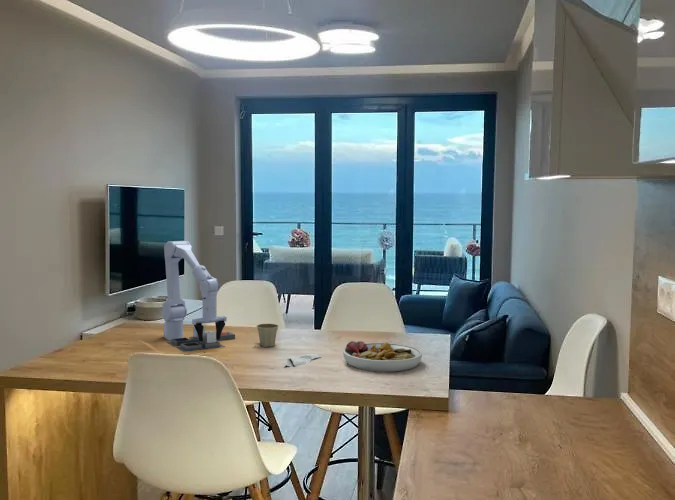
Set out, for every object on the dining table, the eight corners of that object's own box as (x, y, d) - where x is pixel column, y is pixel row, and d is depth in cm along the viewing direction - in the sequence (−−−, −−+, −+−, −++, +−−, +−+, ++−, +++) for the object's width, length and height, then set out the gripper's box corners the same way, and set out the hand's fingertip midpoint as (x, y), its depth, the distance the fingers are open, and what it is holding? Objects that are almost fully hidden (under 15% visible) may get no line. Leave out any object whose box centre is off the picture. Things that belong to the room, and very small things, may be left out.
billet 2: (203, 345, 263) (203, 331, 262) (212, 344, 265) (212, 330, 265) (206, 347, 260) (206, 332, 259) (216, 346, 262) (216, 331, 261)
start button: (216, 336, 278) (216, 331, 278) (225, 335, 280) (225, 330, 280) (220, 338, 275) (220, 332, 275) (228, 337, 277) (228, 331, 277)
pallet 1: (165, 344, 268) (165, 338, 268) (205, 339, 278) (205, 334, 278) (174, 349, 260) (174, 343, 260) (214, 344, 270) (214, 338, 270)
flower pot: (277, 348, 264) (277, 327, 264) (254, 347, 264) (254, 327, 264) (279, 343, 274) (279, 323, 273) (258, 343, 274) (258, 323, 273)
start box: (210, 339, 279) (210, 333, 279) (227, 337, 283) (227, 331, 283) (218, 343, 272) (218, 336, 272) (235, 341, 277) (235, 334, 277)
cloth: (312, 353, 258) (312, 348, 258) (336, 359, 249) (336, 354, 249) (263, 364, 239) (263, 359, 239) (288, 371, 230) (288, 365, 229)
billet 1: (193, 340, 272) (193, 326, 271) (201, 339, 274) (201, 326, 274) (196, 342, 269) (196, 328, 268) (205, 341, 271) (205, 327, 270)
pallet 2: (175, 349, 259) (175, 343, 259) (215, 344, 269) (215, 338, 269) (184, 354, 251) (184, 348, 251) (225, 349, 261) (225, 343, 261)
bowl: (426, 358, 252) (426, 338, 251) (415, 377, 223) (416, 355, 222) (353, 352, 260) (353, 333, 259) (334, 370, 231) (334, 349, 230)
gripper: (196, 310, 254) (196, 343, 255) (229, 307, 262) (229, 339, 263) (190, 308, 260) (190, 340, 261) (222, 305, 268) (222, 336, 269)
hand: (209, 340), depth 262 cm, fingers open, 7 cm apart
